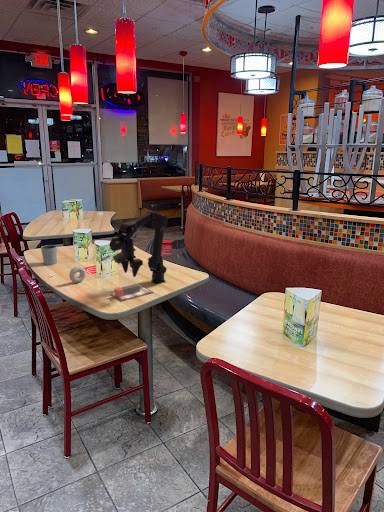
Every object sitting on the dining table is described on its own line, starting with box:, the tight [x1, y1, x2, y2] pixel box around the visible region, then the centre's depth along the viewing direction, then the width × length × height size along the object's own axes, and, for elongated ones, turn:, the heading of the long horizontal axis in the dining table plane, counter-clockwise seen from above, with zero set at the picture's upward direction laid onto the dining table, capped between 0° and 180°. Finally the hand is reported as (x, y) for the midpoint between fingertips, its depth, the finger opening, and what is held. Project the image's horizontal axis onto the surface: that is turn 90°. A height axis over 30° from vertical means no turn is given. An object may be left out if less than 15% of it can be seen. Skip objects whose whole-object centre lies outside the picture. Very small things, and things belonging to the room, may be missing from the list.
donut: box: [68, 265, 86, 284], centre depth 223 cm, size 10×4×10 cm, turn 133°
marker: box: [114, 283, 143, 297], centre depth 206 cm, size 15×4×4 cm, turn 128°
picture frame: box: [109, 285, 155, 302], centre depth 208 cm, size 20×13×1 cm, turn 128°
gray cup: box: [40, 244, 58, 266], centre depth 259 cm, size 10×10×12 cm
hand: (130, 274), depth 207 cm, fingers open, 9 cm apart
